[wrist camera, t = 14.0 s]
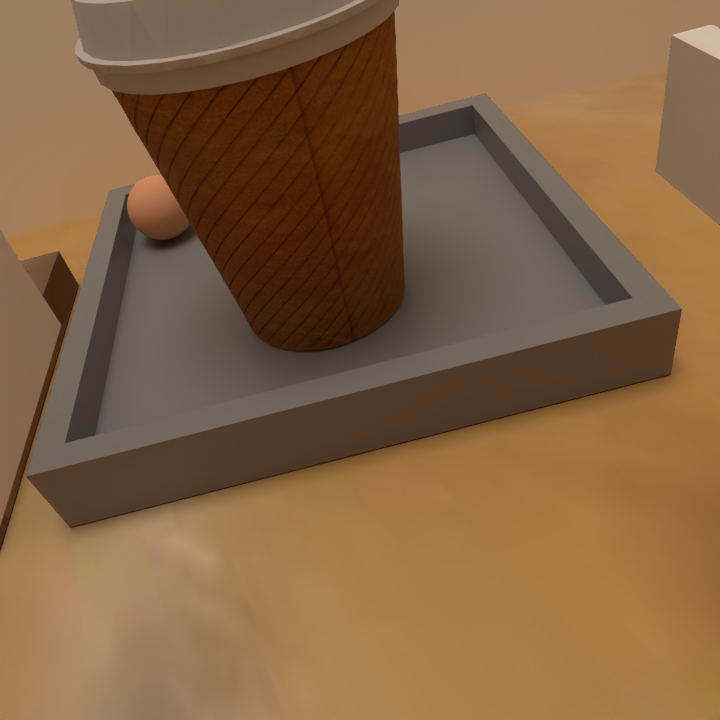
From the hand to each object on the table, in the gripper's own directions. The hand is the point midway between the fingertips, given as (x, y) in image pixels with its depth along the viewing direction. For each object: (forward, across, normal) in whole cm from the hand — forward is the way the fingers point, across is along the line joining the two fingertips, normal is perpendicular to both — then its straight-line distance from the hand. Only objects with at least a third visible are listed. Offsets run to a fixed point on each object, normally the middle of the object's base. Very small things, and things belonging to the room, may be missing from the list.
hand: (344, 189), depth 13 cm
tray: (+12, -1, -10) cm, 15 cm away
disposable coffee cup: (+9, -1, -9) cm, 13 cm away
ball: (+18, -8, -9) cm, 21 cm away
